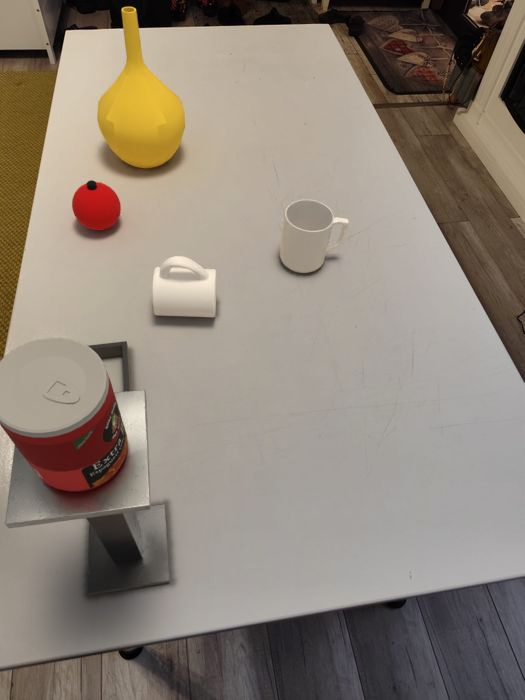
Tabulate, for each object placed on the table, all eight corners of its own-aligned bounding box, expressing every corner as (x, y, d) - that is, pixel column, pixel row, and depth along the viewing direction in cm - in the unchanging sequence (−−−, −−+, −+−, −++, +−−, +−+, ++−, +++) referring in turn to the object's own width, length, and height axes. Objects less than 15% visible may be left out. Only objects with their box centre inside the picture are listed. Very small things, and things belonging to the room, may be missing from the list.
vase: (98, 178, 112) (66, 28, 88) (112, 130, 123) (86, -15, 99) (183, 182, 113) (175, 36, 89) (189, 135, 124) (183, -7, 100)
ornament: (75, 212, 105) (64, 170, 97) (120, 207, 107) (113, 165, 99) (79, 242, 100) (67, 200, 92) (126, 236, 102) (119, 194, 94)
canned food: (111, 503, 41) (83, 443, 33) (15, 484, 42) (-39, 419, 33) (141, 420, 46) (123, 347, 37) (54, 403, 46) (16, 327, 37)
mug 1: (214, 326, 91) (214, 279, 81) (155, 325, 90) (147, 276, 80) (216, 291, 96) (216, 242, 86) (160, 289, 95) (153, 240, 85)
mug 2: (282, 277, 99) (289, 232, 90) (275, 245, 104) (281, 199, 95) (343, 274, 101) (356, 230, 92) (333, 242, 106) (344, 197, 97)
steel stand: (84, 600, 64) (4, 524, 40) (87, 512, 70) (19, 401, 46) (174, 586, 66) (149, 505, 42) (169, 501, 72) (145, 389, 48)
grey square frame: (133, 418, 79) (130, 408, 77) (47, 430, 77) (41, 420, 75) (129, 351, 86) (126, 340, 84) (49, 360, 84) (44, 350, 82)
